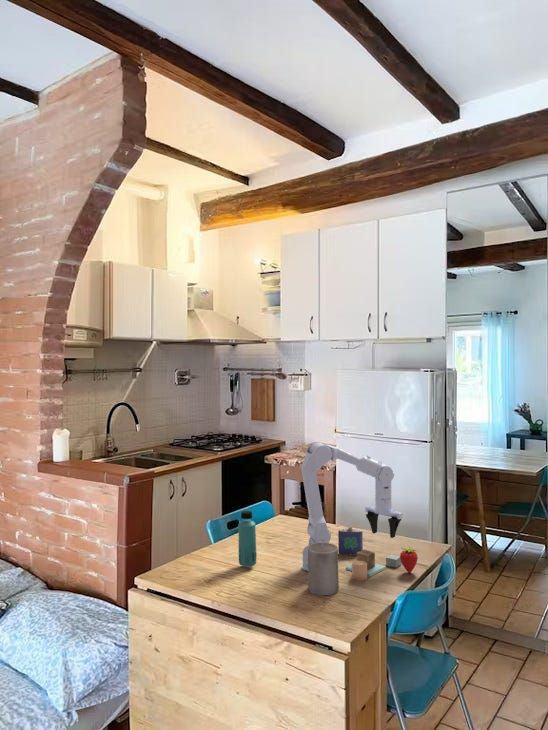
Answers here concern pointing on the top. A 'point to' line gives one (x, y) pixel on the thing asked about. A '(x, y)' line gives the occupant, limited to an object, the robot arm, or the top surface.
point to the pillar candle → (323, 569)
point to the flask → (350, 541)
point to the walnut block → (367, 558)
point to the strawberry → (408, 559)
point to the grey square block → (393, 561)
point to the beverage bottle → (247, 540)
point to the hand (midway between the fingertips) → (383, 535)
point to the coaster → (370, 571)
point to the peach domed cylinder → (359, 570)
